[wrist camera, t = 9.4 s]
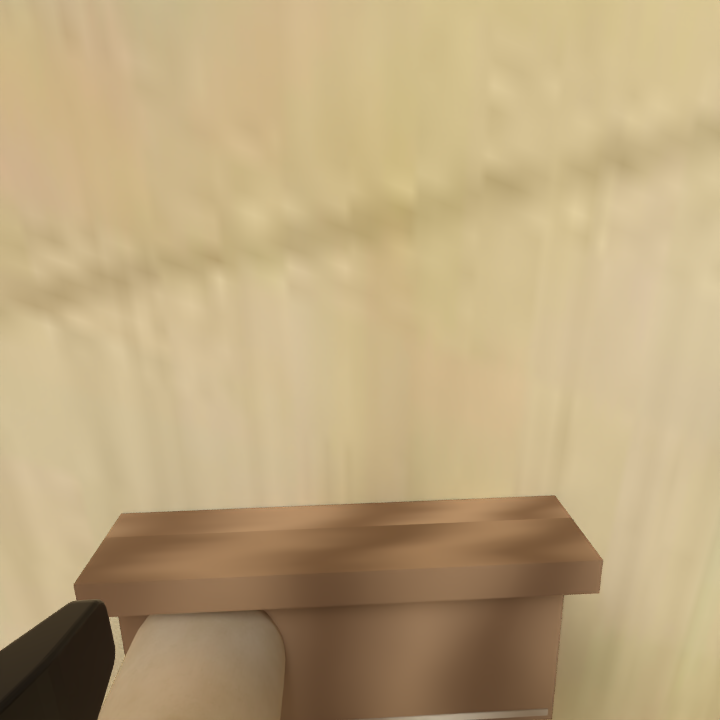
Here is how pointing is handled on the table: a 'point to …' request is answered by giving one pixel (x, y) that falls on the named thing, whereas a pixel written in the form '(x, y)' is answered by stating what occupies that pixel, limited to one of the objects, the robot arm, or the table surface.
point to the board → (370, 597)
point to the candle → (201, 669)
